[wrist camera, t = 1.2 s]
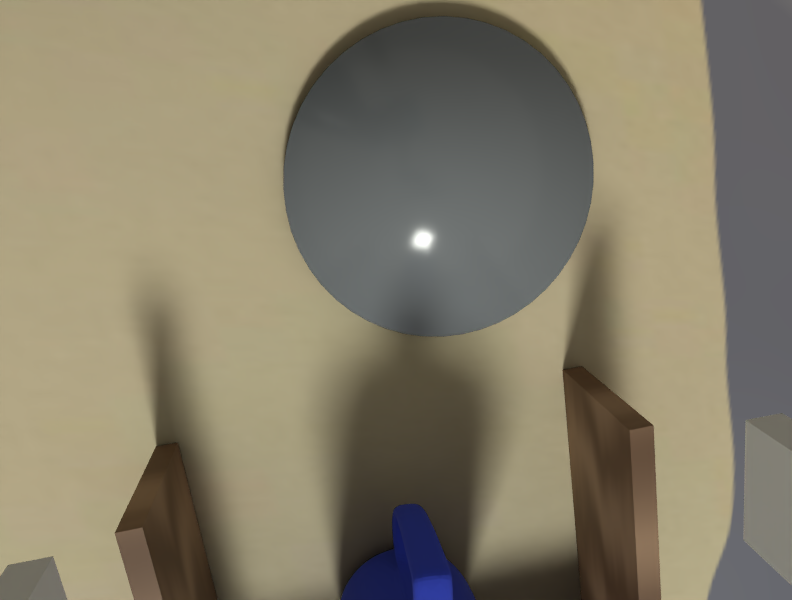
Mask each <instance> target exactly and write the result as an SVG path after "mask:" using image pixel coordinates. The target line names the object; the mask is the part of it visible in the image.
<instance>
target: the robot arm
mask: <svg viewBox="0 0 792 600" xmlns="http://www.w3.org/2000/svg"><path fill="white" fill-rule="evenodd" d="M745 433H746V434H745V436H746V437H745V488H744V541H745V542H746V543H747V544H749V546H750V547H751V548H753V549H754V550H755V551H756V552H757V553H758V554H759V555H760V556H761V557H762V558H763V559H764V560H765V561H766V562H767V563H769V565H771V566H772V567H773V568H774V569H775V570H776V571H777V572H778V573H779V574H780V575H781V576H782V577H783V578H784V579H785V580H786V581H787V582H789V583H790V584H791V585H792V419H791V418H789V417H787V416H785V415H784V414H782V413H780V414H775V415H770V416H765V417H760V418H755V419H750V420H746V431H745ZM0 600H67V597H66V594H65V591H64V588H63V585H62V582H61V579H60V576H59V573H58V570H57V567H56V564H55V561H54V558H53V556H52V557H47V558H42V559H37V560H32V561H26V562H21V563H16V564H11V565H8V566H7V567H6V569H5V570H4V572H3V573H2V575H1V576H0Z"/></svg>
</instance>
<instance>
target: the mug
mask: <svg viewBox="0 0 792 600" xmlns="http://www.w3.org/2000/svg"><path fill="white" fill-rule="evenodd" d="M392 531H393V544H394V549H392V550H389V551H386V552H383V553H381V554H378V555H376V556H374V557H373V558H371V559H369V560H368V561H367V562H365V563H364V564H363V565H362V566H361V567H360V568H359V569H358V570H357V571H356V572H355V573H354V574H353V576H352V577H351V578H350V580H349V581H348V583H347V585H346V587H345V589H344V591H343V594H342V597H341V600H476V599H475V597H474V595H473V593H472V591H471V589H470V587H469V585H468V583H467V581H466V580H465V578H464V577H463V575H462V574H461V573H460V572H459V570H458V569H457V568H456V567H455V566H454V565H453V564H452V563H451V562H449V561H448V560H447V559H446V557H445V554H444V552H443V549H442V547H441V544H440V542H439V539H438V537H437V534H436V532H435V530H434V528H433V526H432V523H431V521H430V519H429V517H428V515H427V513H426V512H425V510H424V509H423V508H422V507H421V506H420V505H417V504H404V505H399V506H397V507H396V508H395V509H394V510H393V516H392Z"/></svg>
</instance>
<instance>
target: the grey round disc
mask: <svg viewBox="0 0 792 600" xmlns="http://www.w3.org/2000/svg"><path fill="white" fill-rule="evenodd" d="M592 190H593V155H592V147H591V141H590V137H589V133H588V129H587V125H586V121H585V119H584V116H583V114H582V111H581V109H580V106H579V104H578V102H577V100H576V98H575V96H574V95H573V93H572V91H571V89H570V87H569V86H568V84H567V83H566V81H565V80H564V79H563V77H562V76H561V75H560V73H559V72H558V71H557V69H556V68H555V67H554V66H553V65H552V64H551V63H550V62H549V61H548V60H547V59H546V58H545V57H544V56H543V55H542V54H541V53H540V52H538V51H537V50H536V49H535V48H533V47H532V46H531V45H529V44H528V43H527V42H525V41H524V40H522V39H520V38H519V37H517V36H515V35H513V34H511V33H510V32H508V31H506V30H504V29H501V28H498V27H496V26H493V25H491V24H488V23H485V22H481V21H476V20H472V19H468V18H460V17H448V16H440V17H423V18H418V19H413V20H408V21H403V22H400V23H397V24H394V25H391V26H389V27H386V28H383V29H380V30H378V31H377V32H375V33H373V34H371V35H369V36H367V37H365V38H363V39H361V40H360V41H359V42H357V43H356V44H354V45H353V46H352V47H350V48H349V49H347V50H346V51H345V52H343V53H342V54H341V55H340V56H339V57H338V58H337V59H336V60H335V61H334V62H333V63H332V64H331V65H330V66H329V67H328V68H327V69H326V70H325V71H324V72H323V74H322V75H321V76H320V77H319V79H318V80H317V81H316V82H315V84H314V85H313V86H312V88H311V90H310V91H309V93H308V95H307V96H306V98H305V100H304V101H303V103H302V105H301V107H300V110H299V112H298V114H297V117H296V119H295V121H294V123H293V126H292V130H291V133H290V137H289V141H288V144H287V149H286V156H285V163H284V197H285V206H286V212H287V216H288V220H289V224H290V228H291V232H292V234H293V237H294V239H295V242H296V244H297V247H298V249H299V251H300V253H301V255H302V257H303V258H304V260H305V262H306V264H307V265H308V267H309V269H310V270H311V272H312V273H313V274H314V276H315V277H316V278H317V280H318V281H319V282H320V284H321V285H322V286H323V287H324V288H325V289H326V290H327V291H328V292H329V293H330V294H331V295H332V296H333V297H334V298H335V299H336V300H337V301H339V302H340V303H341V304H343V305H344V306H345V307H346V308H348V309H349V310H350V311H352V312H353V313H355V314H357V315H359V316H360V317H362V318H364V319H365V320H367V321H369V322H372V323H374V324H376V325H379V326H381V327H383V328H386V329H389V330H393V331H397V332H400V333H404V334H411V335H418V336H451V335H460V334H465V333H469V332H473V331H477V330H481V329H483V328H486V327H488V326H491V325H494V324H496V323H499V322H501V321H502V320H504V319H506V318H508V317H510V316H512V315H514V314H515V313H517V312H518V311H520V310H521V309H523V308H524V307H525V306H527V305H528V304H530V303H531V302H532V301H533V300H534V299H536V298H537V297H538V296H539V295H540V294H541V293H542V292H543V291H545V290H546V289H547V287H548V286H549V285H550V284H551V283H552V282H553V281H554V279H555V278H556V277H557V276H558V275H559V273H560V272H561V270H562V269H563V268H564V266H565V265H566V263H567V262H568V260H569V259H570V257H571V255H572V253H573V251H574V249H575V247H576V246H577V244H578V242H579V239H580V237H581V234H582V232H583V229H584V226H585V224H586V220H587V216H588V212H589V208H590V204H591V198H592Z"/></svg>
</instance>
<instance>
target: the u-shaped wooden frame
mask: <svg viewBox="0 0 792 600" xmlns="http://www.w3.org/2000/svg"><path fill="white" fill-rule="evenodd" d="M563 379H564V391H565V403H566V415H567V428H568V440H569V452H570V465H571V477H572V489H573V502H574V514H575V526H576V539H577V551H578V563H579V576H580V588H581V600H661V587H660V564H659V541H658V518H657V495H656V472H655V449H654V426H653V425H652V424H651V423H650V422H649V421H647V420H646V419H645V418H644V417H643V416H641V415H640V414H639V413H638V412H637V411H635V410H634V409H633V408H632V407H630V406H629V405H628V404H627V403H626V402H624V401H623V400H622V399H621V398H620V397H618V396H617V395H616V394H615V393H614V392H612V391H611V390H610V389H609V388H608V387H606V386H605V385H604V384H603V383H602V382H600V381H599V380H598V379H597V378H595V377H594V376H593V375H592V374H591V373H589V372H588V371H587V370H586V369H585V368H583V367H582V366H581V367H575V368H570V369H565V370H563ZM115 536H116V539H117V542H118V546H119V549H120V553H121V556H122V560H123V563H124V566H125V570H126V573H127V577H128V580H129V584H130V587H131V590H132V594H133V597H134V600H217V596H216V592H215V588H214V584H213V580H212V577H211V573H210V569H209V565H208V561H207V557H206V553H205V549H204V545H203V541H202V537H201V533H200V529H199V525H198V521H197V517H196V513H195V509H194V505H193V501H192V497H191V493H190V489H189V485H188V481H187V477H186V474H185V470H184V466H183V462H182V458H181V454H180V450H179V446H178V443H172V444H167V445H162V446H156V448H155V450H154V452H153V454H152V456H151V458H150V460H149V463H148V465H147V467H146V469H145V471H144V473H143V475H142V477H141V479H140V481H139V483H138V486H137V488H136V490H135V492H134V494H133V496H132V498H131V500H130V502H129V504H128V506H127V509H126V511H125V513H124V515H123V517H122V519H121V521H120V523H119V525H118V527H117V529H116V532H115Z"/></svg>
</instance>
